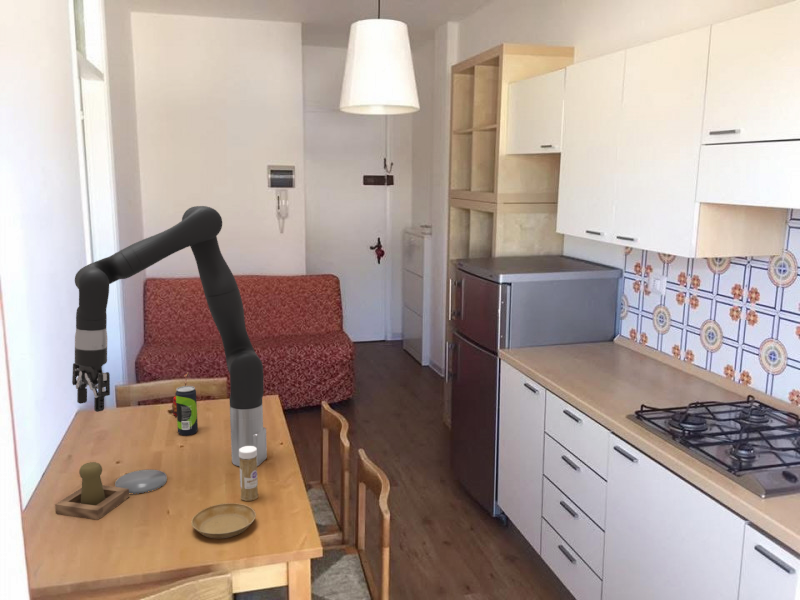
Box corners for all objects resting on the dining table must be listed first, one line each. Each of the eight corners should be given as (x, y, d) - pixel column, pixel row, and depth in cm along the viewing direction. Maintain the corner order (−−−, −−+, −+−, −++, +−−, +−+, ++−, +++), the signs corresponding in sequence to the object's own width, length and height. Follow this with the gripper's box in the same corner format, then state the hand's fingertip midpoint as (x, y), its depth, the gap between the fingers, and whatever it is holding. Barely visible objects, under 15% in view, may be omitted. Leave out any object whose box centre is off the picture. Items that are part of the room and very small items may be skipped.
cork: (96, 512, 165) (93, 470, 163) (74, 509, 167) (71, 468, 165) (111, 500, 171) (108, 460, 169) (90, 498, 172) (87, 458, 170)
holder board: (129, 497, 173) (128, 488, 173) (97, 519, 162) (97, 510, 161) (89, 491, 176) (88, 483, 176) (55, 513, 165) (55, 504, 164)
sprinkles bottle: (252, 502, 171) (251, 453, 168) (237, 500, 172) (235, 450, 170) (261, 494, 175) (260, 446, 173) (246, 492, 176) (244, 444, 174)
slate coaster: (176, 475, 186) (176, 472, 186) (147, 496, 174) (147, 493, 173) (135, 470, 189) (135, 467, 189) (104, 490, 177) (104, 487, 176)
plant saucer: (178, 536, 155) (177, 526, 154) (216, 508, 168) (216, 498, 168) (233, 549, 150) (232, 538, 149) (267, 518, 163) (267, 508, 163)
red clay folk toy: (169, 413, 235) (166, 372, 232) (188, 409, 240) (186, 369, 237) (178, 419, 229) (175, 377, 227) (197, 415, 234) (195, 373, 231)
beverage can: (202, 431, 219) (199, 387, 216) (186, 437, 213) (184, 392, 211) (189, 428, 222) (186, 384, 219) (173, 433, 217) (171, 389, 214)
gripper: (120, 349, 169) (119, 410, 171) (91, 338, 177) (90, 397, 180) (91, 353, 163) (90, 417, 165) (62, 341, 171) (62, 402, 174)
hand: (90, 406), depth 172 cm, fingers open, 8 cm apart
